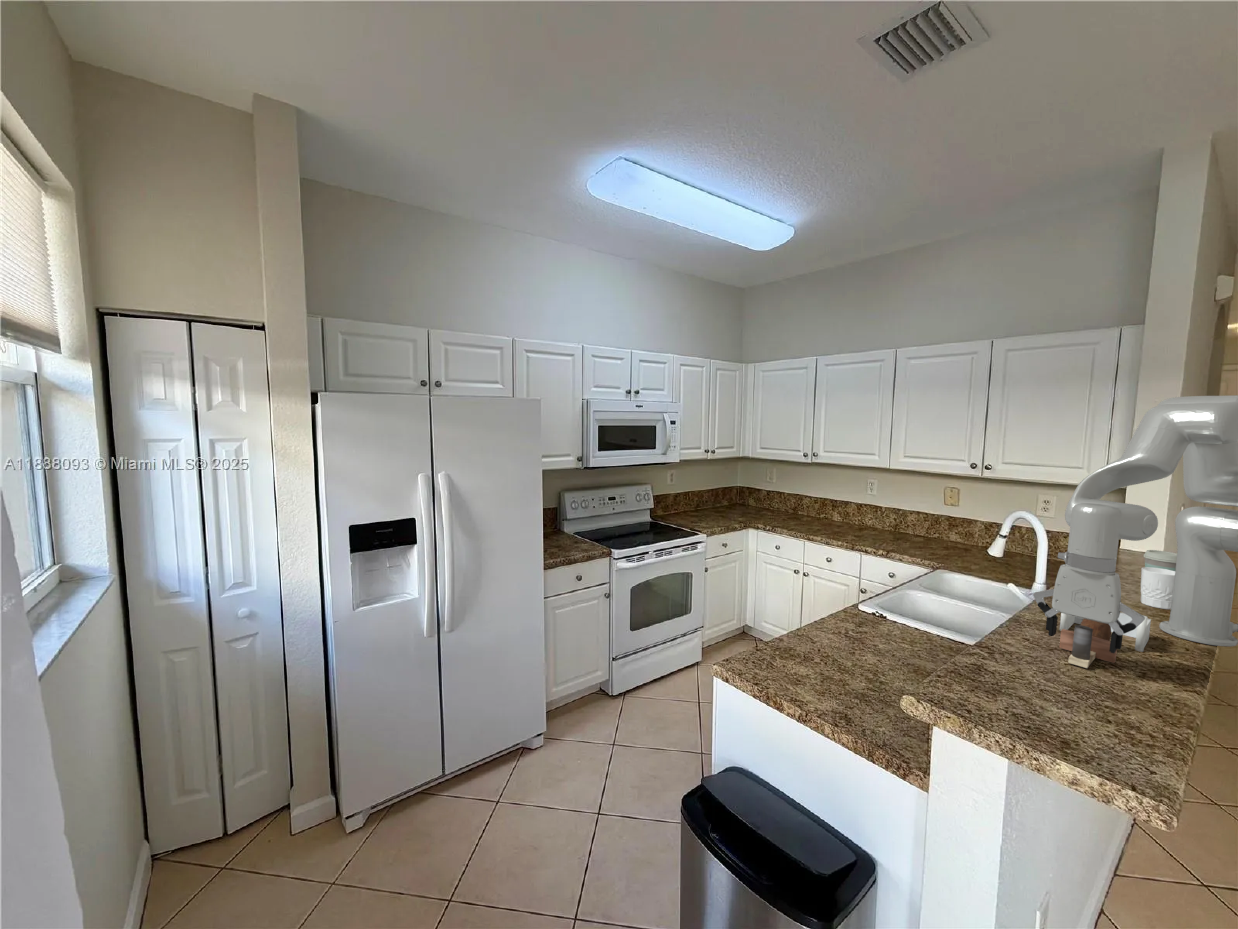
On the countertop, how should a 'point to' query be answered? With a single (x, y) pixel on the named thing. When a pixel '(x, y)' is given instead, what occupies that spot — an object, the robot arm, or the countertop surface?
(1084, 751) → the countertop surface
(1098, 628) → the coconut
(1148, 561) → the coffee cup
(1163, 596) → the white cup
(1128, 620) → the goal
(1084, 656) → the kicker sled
